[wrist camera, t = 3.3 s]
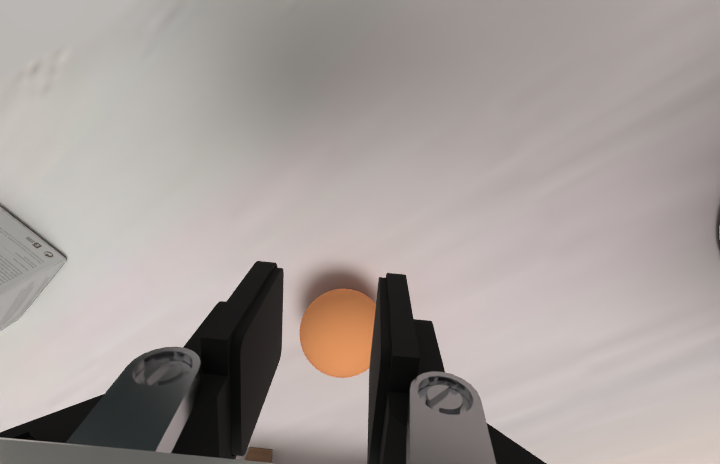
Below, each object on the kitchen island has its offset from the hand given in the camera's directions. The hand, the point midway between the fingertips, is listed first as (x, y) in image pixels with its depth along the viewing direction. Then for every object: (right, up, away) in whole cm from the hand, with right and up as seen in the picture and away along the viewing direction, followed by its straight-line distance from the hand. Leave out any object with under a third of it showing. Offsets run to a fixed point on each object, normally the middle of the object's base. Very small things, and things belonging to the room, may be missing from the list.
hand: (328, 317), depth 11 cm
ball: (0, -4, +16) cm, 17 cm away
